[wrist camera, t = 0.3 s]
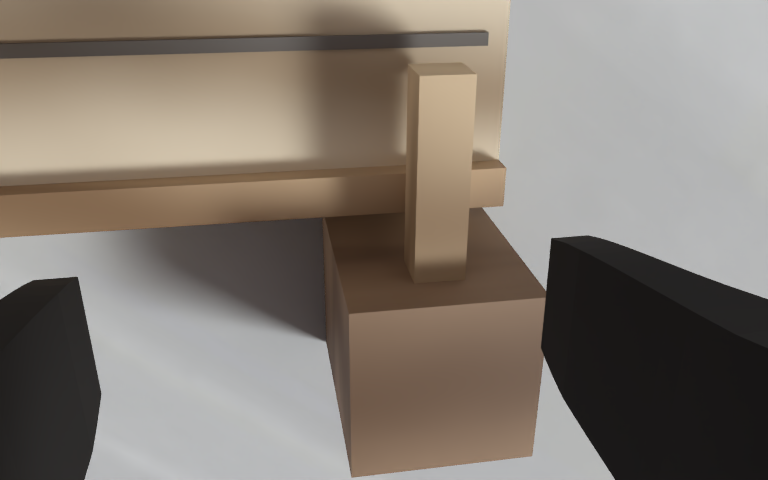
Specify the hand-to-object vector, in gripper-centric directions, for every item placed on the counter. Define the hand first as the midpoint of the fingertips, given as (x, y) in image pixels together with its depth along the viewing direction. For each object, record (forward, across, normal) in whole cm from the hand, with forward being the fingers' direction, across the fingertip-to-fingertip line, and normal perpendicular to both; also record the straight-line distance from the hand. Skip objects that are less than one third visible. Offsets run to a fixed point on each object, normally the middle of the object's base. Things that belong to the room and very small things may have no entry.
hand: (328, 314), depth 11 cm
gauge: (+10, -3, +2) cm, 10 cm away
